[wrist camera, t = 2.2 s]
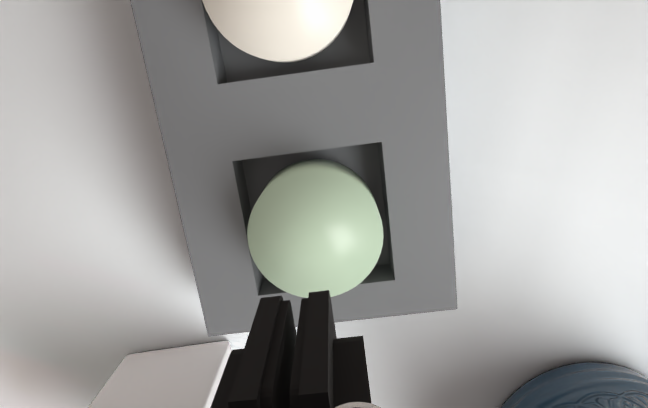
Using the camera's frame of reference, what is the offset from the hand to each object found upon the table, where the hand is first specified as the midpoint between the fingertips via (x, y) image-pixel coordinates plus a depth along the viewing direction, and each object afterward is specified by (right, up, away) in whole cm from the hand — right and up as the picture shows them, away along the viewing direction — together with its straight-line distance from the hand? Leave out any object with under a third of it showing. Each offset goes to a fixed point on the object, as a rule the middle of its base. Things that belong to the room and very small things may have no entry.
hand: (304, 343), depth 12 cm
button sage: (0, +3, +10) cm, 11 cm away
